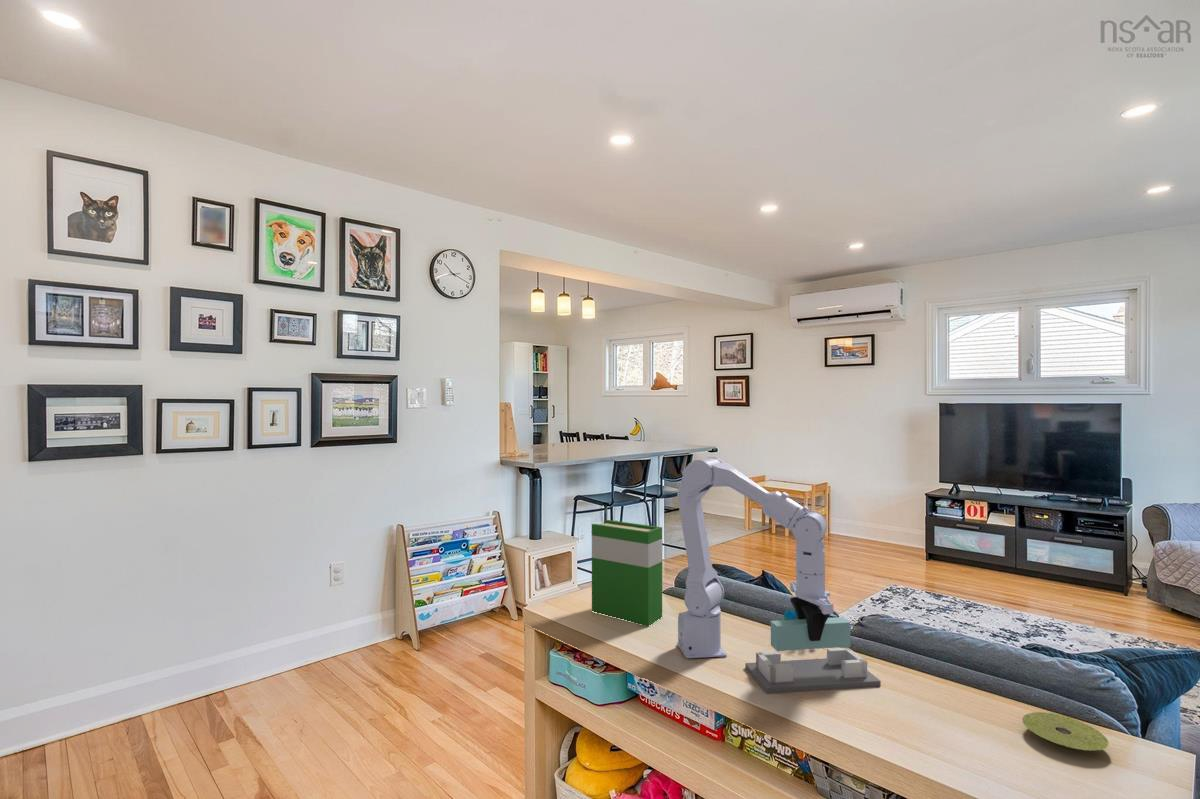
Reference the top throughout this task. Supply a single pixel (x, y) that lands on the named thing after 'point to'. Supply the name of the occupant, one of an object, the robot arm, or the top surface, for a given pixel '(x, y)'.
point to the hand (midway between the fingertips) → (810, 636)
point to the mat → (1065, 731)
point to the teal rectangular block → (797, 638)
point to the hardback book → (627, 571)
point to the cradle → (811, 672)
